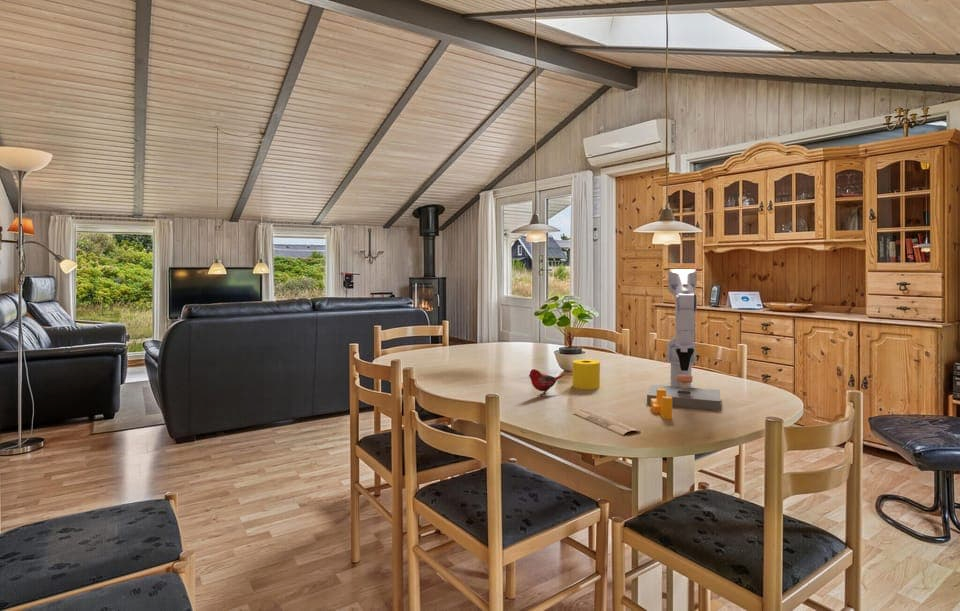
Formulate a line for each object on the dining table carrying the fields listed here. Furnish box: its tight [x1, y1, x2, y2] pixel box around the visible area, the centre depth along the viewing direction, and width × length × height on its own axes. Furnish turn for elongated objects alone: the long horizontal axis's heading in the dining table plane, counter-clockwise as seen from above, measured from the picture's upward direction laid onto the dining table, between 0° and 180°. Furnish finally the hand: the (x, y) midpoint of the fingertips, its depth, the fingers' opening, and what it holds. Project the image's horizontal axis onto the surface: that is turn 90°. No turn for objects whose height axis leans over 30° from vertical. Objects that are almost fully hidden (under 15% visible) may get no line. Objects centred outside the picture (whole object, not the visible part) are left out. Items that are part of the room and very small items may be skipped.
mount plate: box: [646, 384, 721, 411], centre depth 178 cm, size 16×22×3 cm
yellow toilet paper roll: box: [572, 358, 601, 390], centre depth 201 cm, size 10×10×9 cm
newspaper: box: [572, 408, 641, 437], centre depth 155 cm, size 24×7×2 cm, turn 25°
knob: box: [676, 374, 693, 390], centre depth 178 cm, size 5×5×5 cm
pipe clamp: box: [650, 389, 673, 420], centre depth 164 cm, size 12×4×6 cm, turn 171°
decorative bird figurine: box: [528, 368, 565, 397], centre depth 189 cm, size 3×18×10 cm, turn 127°
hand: (684, 370), depth 178 cm, fingers closed
